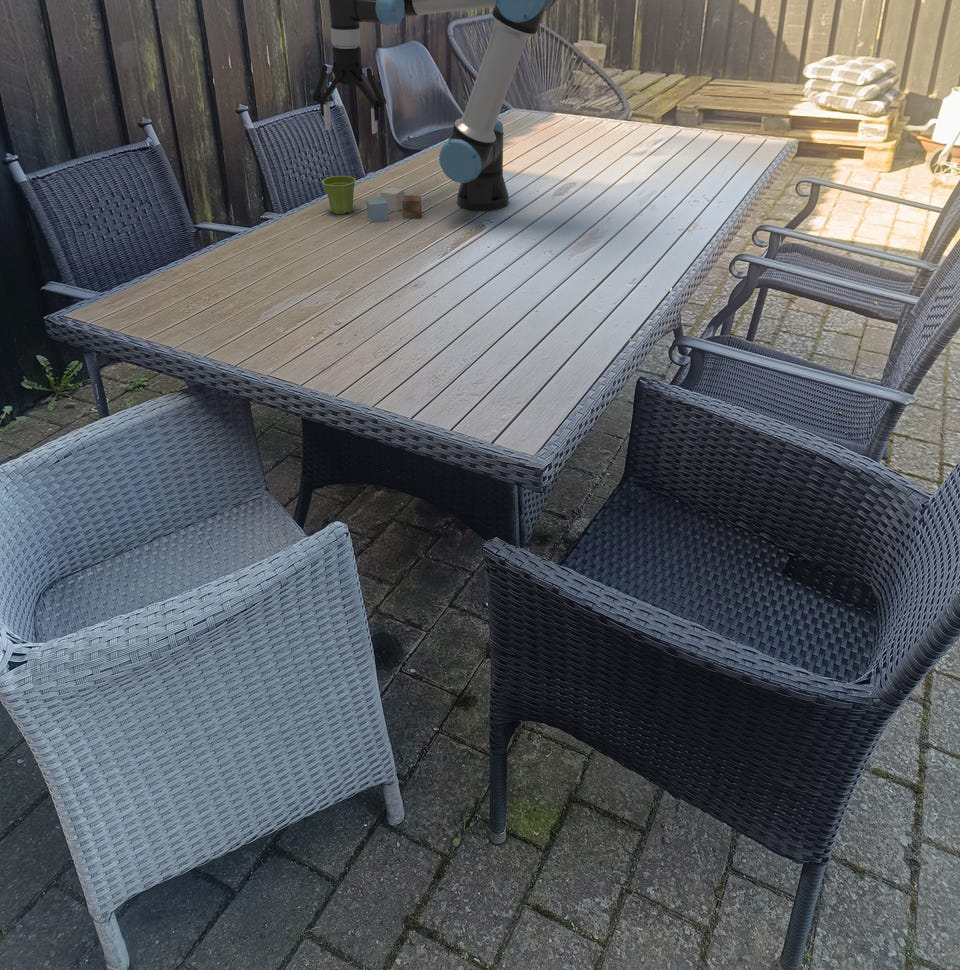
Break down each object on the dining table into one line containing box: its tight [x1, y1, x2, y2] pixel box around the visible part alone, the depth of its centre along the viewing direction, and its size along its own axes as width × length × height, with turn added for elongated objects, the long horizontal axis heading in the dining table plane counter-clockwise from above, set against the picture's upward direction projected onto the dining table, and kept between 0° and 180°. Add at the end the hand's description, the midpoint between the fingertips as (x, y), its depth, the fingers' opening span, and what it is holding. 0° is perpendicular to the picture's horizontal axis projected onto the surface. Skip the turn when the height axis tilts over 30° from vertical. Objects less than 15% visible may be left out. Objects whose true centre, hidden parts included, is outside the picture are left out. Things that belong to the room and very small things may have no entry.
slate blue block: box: [365, 197, 389, 223], centre depth 236 cm, size 5×5×5 cm
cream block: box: [380, 187, 406, 212], centre depth 243 cm, size 5×5×5 cm
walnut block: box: [402, 194, 423, 220], centre depth 238 cm, size 5×5×5 cm
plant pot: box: [321, 175, 357, 215], centre depth 240 cm, size 9×9×9 cm
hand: (351, 130), depth 235 cm, fingers open, 13 cm apart
